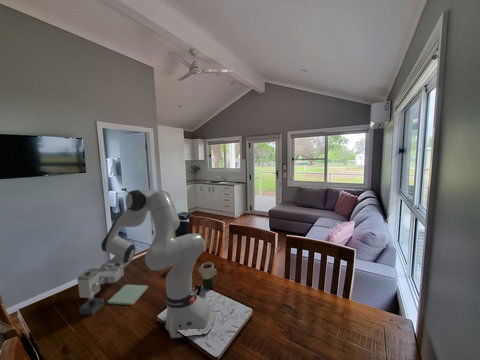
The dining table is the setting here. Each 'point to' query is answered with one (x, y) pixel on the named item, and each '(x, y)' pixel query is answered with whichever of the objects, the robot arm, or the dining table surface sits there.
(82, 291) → the white upright box
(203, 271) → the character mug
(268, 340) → the dining table surface
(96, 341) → the dining table surface
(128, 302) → the pad
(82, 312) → the post
